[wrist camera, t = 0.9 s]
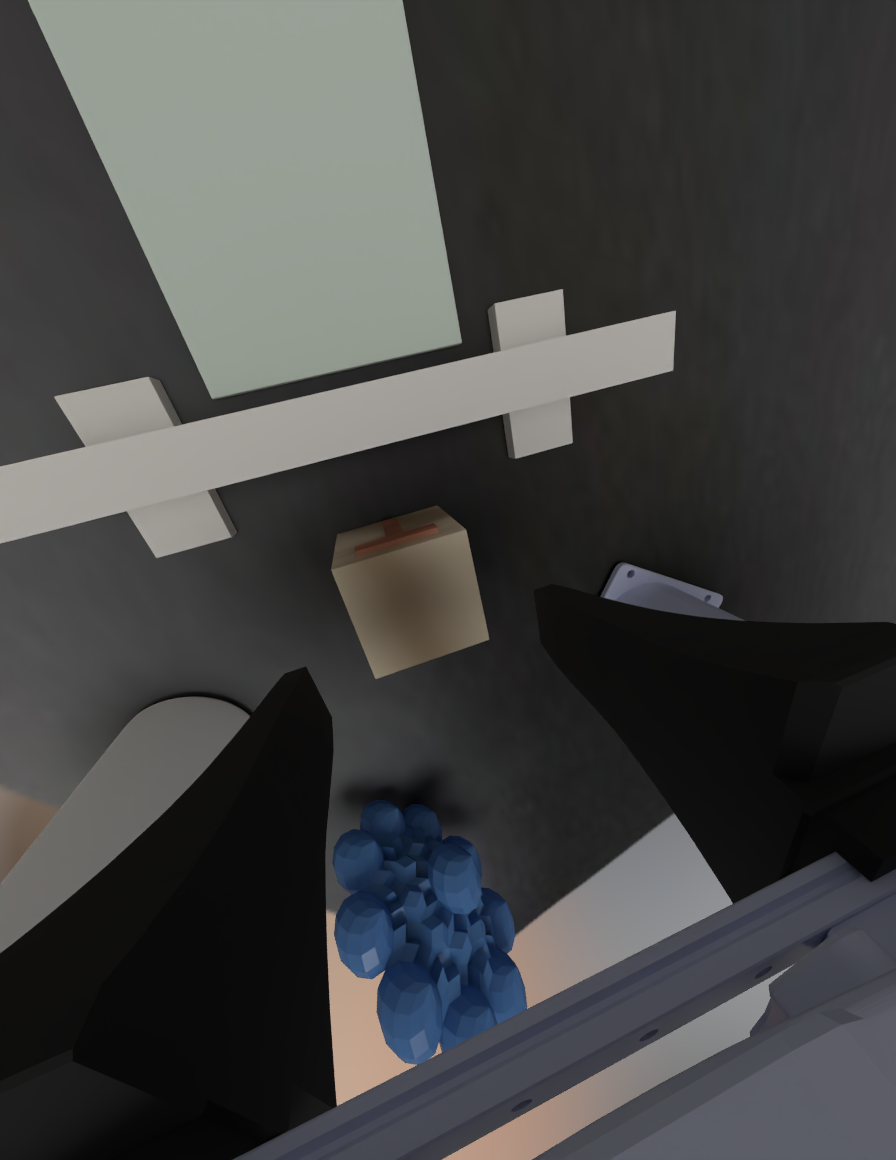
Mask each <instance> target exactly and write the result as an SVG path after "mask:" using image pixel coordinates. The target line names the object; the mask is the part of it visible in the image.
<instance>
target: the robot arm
mask: <svg viewBox="0 0 896 1160" xmlns="http://www.w3.org/2000/svg"><path fill="white" fill-rule="evenodd" d="M629 571H630V573H629V574H628V572H629ZM627 574H628V575H627ZM534 595H535V602H536V610H537V617H538V625H539V633H540V640H541V643H542V645H543V646H544V648H545V650H546V651H547V653H548V654H549V656H550V657H551V658H552V660H553V661H554V663H555V664H556V665H557V667H558V668H559V669H560V670H561V671H562V673H563V674H564V675H565V676H566V677H567V678H568V679H569V680H570V681H571V683H572V684H573V685H574V686H575V687H576V688H577V689H578V690H579V691H580V692H581V693H582V695H583V696H584V697H585V698H586V699H587V700H588V701H589V702H590V703H591V704H592V706H593V707H594V708H595V709H596V710H597V711H598V712H599V713H600V714H601V715H602V716H603V718H604V719H605V720H606V721H607V722H608V723H609V724H610V726H611V727H612V728H613V729H614V730H615V732H616V733H617V734H618V735H619V737H620V738H621V739H622V741H623V742H624V743H625V745H626V746H627V747H628V749H629V750H630V751H631V753H632V754H633V755H634V757H635V758H636V759H637V761H638V762H639V763H640V765H641V766H642V768H643V769H644V770H645V772H646V773H647V775H648V776H649V777H650V779H651V780H652V782H653V783H654V784H655V786H656V787H657V789H658V790H659V791H660V793H661V794H662V796H663V797H664V798H665V800H666V801H667V803H668V804H669V806H670V807H671V809H672V810H673V812H674V813H675V815H676V816H677V818H678V819H679V821H680V822H681V824H682V825H683V826H684V828H685V829H686V831H687V832H688V834H689V835H690V837H691V838H692V840H693V841H694V842H695V844H696V846H697V847H698V849H699V851H700V852H701V853H702V855H703V857H704V858H705V860H706V861H707V863H708V865H709V866H710V868H711V869H712V871H713V872H714V874H715V875H716V877H717V879H718V880H719V882H720V883H721V885H722V886H723V888H724V889H725V891H726V893H727V894H728V896H729V897H730V899H731V901H732V902H733V904H732V905H730V906H728V907H726V908H724V909H722V910H720V911H718V912H716V913H714V914H712V915H710V916H709V917H707V918H705V919H703V920H701V921H699V922H697V923H695V924H693V925H691V926H689V927H687V928H685V929H683V930H681V931H679V932H677V933H675V934H673V935H671V936H670V937H667V938H665V939H663V940H662V941H660V942H658V943H656V944H654V945H652V946H650V947H648V948H646V949H644V950H642V951H640V952H638V953H636V954H634V955H632V956H630V957H628V958H626V959H624V960H623V961H620V962H619V963H617V964H615V965H613V966H611V967H609V968H607V969H605V970H603V971H601V972H599V973H597V974H595V975H593V976H591V977H589V978H587V979H585V980H583V981H582V982H579V983H578V984H576V985H573V986H572V987H570V988H568V989H566V990H564V991H562V992H560V993H558V994H556V995H554V996H552V997H550V998H548V999H546V1000H544V1001H542V1002H540V1003H538V1004H536V1005H534V1006H533V1007H530V1008H528V1009H527V1010H525V1011H523V1012H521V1013H519V1014H517V1015H515V1016H513V1017H511V1018H509V1019H507V1020H505V1021H503V1022H501V1023H499V1024H497V1025H495V1026H493V1027H491V1028H489V1029H487V1030H485V1031H483V1032H482V1033H480V1034H478V1035H476V1036H474V1037H472V1038H470V1039H468V1040H466V1041H464V1042H462V1043H460V1044H458V1045H456V1046H454V1047H452V1048H450V1049H448V1050H446V1051H444V1052H442V1053H441V1054H438V1055H437V1056H435V1057H433V1058H431V1059H429V1060H427V1061H425V1062H423V1063H421V1064H419V1065H417V1066H415V1067H413V1068H411V1069H409V1070H407V1071H405V1072H403V1073H401V1074H400V1075H398V1076H395V1077H393V1078H391V1079H390V1080H388V1081H386V1082H384V1083H382V1084H380V1085H378V1086H376V1087H374V1088H372V1089H370V1090H368V1091H366V1092H364V1093H362V1094H360V1095H358V1096H356V1097H354V1098H353V1099H350V1100H348V1101H346V1102H345V1103H343V1104H341V1105H339V1106H337V1104H336V1092H335V1079H334V1065H333V1051H332V1050H333V1049H332V1035H331V1021H330V1003H329V982H328V960H327V933H326V884H325V849H326V830H327V819H328V808H329V797H330V786H331V775H332V763H333V728H332V717H331V715H330V713H329V711H328V709H327V707H326V705H325V703H324V701H323V699H322V697H321V695H320V693H319V691H318V689H317V687H316V685H315V683H314V681H313V679H312V677H311V675H310V674H309V672H308V670H307V668H306V667H303V668H300V669H297V670H294V671H291V672H288V673H285V674H284V675H283V676H282V677H281V678H280V680H279V681H278V682H277V683H276V684H275V686H274V687H273V688H272V689H271V691H270V692H269V693H268V694H267V696H266V697H265V698H264V700H263V701H262V702H261V703H260V705H259V706H258V707H257V709H256V710H255V711H254V712H253V714H252V715H251V716H250V717H249V719H248V720H247V721H246V722H245V724H244V725H243V726H242V727H241V729H240V730H239V731H238V732H237V734H236V735H235V736H234V737H233V738H232V739H231V741H230V742H229V743H228V744H227V745H226V746H225V748H224V749H223V750H222V751H221V752H220V753H219V755H218V756H217V757H216V758H215V759H214V760H213V762H212V763H211V764H210V765H209V766H208V767H207V768H206V770H205V771H204V772H203V773H202V774H201V775H200V776H199V777H198V778H197V779H196V780H195V781H194V783H193V784H192V785H191V786H190V787H189V788H188V789H187V790H186V791H185V792H184V793H183V794H182V795H181V796H180V797H179V798H178V799H177V800H176V801H175V802H174V803H173V804H172V805H171V806H170V807H169V808H168V809H167V810H166V811H165V812H164V813H163V814H162V815H161V816H160V817H159V818H158V819H157V820H156V821H155V822H154V823H152V824H151V825H150V826H149V827H148V828H147V829H146V830H145V831H144V832H143V833H142V834H141V835H139V836H138V837H137V838H136V839H135V840H134V841H133V842H132V843H131V844H130V845H129V846H128V847H126V848H125V849H124V850H123V851H122V852H121V853H120V854H119V855H118V856H117V857H116V858H115V859H113V860H112V861H111V862H110V863H109V864H108V865H107V866H106V867H104V868H103V869H102V870H101V871H100V872H99V873H98V874H96V875H95V876H94V877H93V878H92V879H91V880H89V881H88V882H87V883H86V884H85V885H84V886H82V887H81V888H80V889H79V890H78V891H77V892H75V893H74V894H73V895H72V896H71V897H69V898H68V899H67V900H66V901H64V902H63V903H62V904H61V905H60V906H58V907H57V908H56V909H55V910H54V911H52V912H51V913H50V914H49V915H48V916H46V917H45V918H44V919H43V920H42V921H40V922H39V923H38V924H37V925H35V926H34V927H33V928H32V929H30V930H29V931H28V932H27V933H25V934H24V935H23V936H22V937H20V938H19V939H18V940H17V941H15V942H14V943H13V944H12V945H10V946H9V947H8V948H6V949H5V950H4V951H2V952H1V953H0V1160H441V1159H443V1158H445V1157H447V1156H448V1155H451V1154H452V1153H454V1152H456V1151H458V1150H459V1149H461V1148H463V1147H465V1146H467V1145H468V1144H470V1143H472V1142H474V1141H476V1140H477V1139H479V1138H481V1137H483V1136H485V1135H487V1134H488V1133H490V1132H492V1131H494V1130H496V1129H497V1128H499V1127H501V1126H503V1125H505V1124H506V1123H508V1122H510V1121H512V1120H514V1119H515V1118H517V1117H519V1116H521V1115H523V1114H525V1113H526V1112H528V1111H530V1110H532V1109H533V1108H535V1107H537V1106H539V1105H541V1104H542V1103H544V1102H546V1101H548V1100H550V1099H551V1098H553V1097H555V1096H557V1095H559V1094H561V1093H562V1092H564V1091H566V1090H568V1089H570V1088H571V1087H573V1086H575V1085H577V1084H579V1083H580V1082H582V1081H584V1080H586V1079H588V1078H589V1077H591V1076H593V1075H595V1074H597V1073H598V1072H600V1071H602V1070H604V1069H606V1068H607V1067H609V1066H611V1065H613V1064H614V1063H616V1062H618V1061H620V1060H622V1059H624V1058H626V1057H627V1056H629V1055H631V1054H633V1053H634V1052H636V1051H638V1050H640V1049H642V1048H644V1047H645V1046H647V1045H649V1044H651V1043H653V1042H654V1041H656V1040H658V1039H660V1038H662V1037H663V1036H665V1035H667V1034H669V1033H671V1032H672V1031H674V1030H676V1029H678V1028H680V1027H681V1026H683V1025H685V1024H687V1023H688V1022H690V1021H692V1020H694V1019H696V1018H697V1017H699V1016H701V1015H703V1014H705V1013H706V1012H708V1011H710V1010H712V1009H714V1008H716V1007H717V1006H719V1005H721V1004H723V1003H725V1002H726V1001H728V1000H730V999H732V998H734V997H735V996H737V995H739V994H741V993H743V992H745V991H746V990H748V989H750V988H752V987H753V986H755V985H757V984H759V983H761V982H763V981H764V980H766V979H768V978H770V977H771V976H773V975H775V974H777V973H779V972H781V971H782V970H784V969H786V968H788V967H790V966H791V965H793V964H794V965H793V966H792V967H791V968H789V969H788V970H787V971H786V972H784V973H783V974H782V975H780V976H779V977H778V978H777V979H775V980H774V981H773V982H772V983H771V984H769V991H770V997H771V998H770V1001H769V1003H768V1005H767V1008H766V1010H765V1013H764V1014H763V1015H762V1016H761V1018H760V1019H759V1020H758V1022H757V1023H756V1024H755V1026H754V1027H753V1028H752V1030H751V1031H750V1037H749V1038H747V1039H745V1040H743V1041H741V1042H739V1043H736V1044H735V1045H733V1046H730V1047H728V1048H726V1049H724V1050H722V1051H720V1052H718V1053H717V1054H715V1055H713V1056H711V1057H709V1058H707V1059H705V1060H703V1061H702V1062H700V1063H698V1064H696V1065H694V1066H692V1067H690V1068H689V1069H687V1070H685V1071H683V1072H681V1073H679V1074H677V1075H675V1076H674V1077H672V1078H670V1079H668V1080H666V1081H665V1082H662V1083H661V1084H659V1085H657V1086H655V1087H654V1088H652V1089H650V1090H648V1091H647V1092H645V1093H643V1094H641V1095H640V1096H638V1097H636V1098H634V1099H633V1100H631V1101H629V1102H627V1103H626V1104H624V1105H622V1106H621V1107H619V1108H617V1109H615V1110H614V1111H612V1112H610V1113H608V1114H607V1115H605V1116H603V1117H601V1118H600V1119H598V1120H596V1121H595V1122H593V1123H591V1124H590V1125H588V1126H586V1127H585V1128H583V1129H581V1130H580V1131H578V1132H576V1133H575V1134H573V1135H572V1136H570V1137H568V1138H567V1139H565V1140H563V1141H562V1142H561V1143H559V1144H557V1145H555V1146H554V1147H552V1148H550V1149H549V1150H547V1151H545V1152H544V1153H542V1154H541V1155H539V1156H537V1157H536V1158H534V1159H532V1160H896V624H894V623H889V622H866V623H776V622H755V621H745V620H743V619H740V618H738V617H736V616H734V615H732V614H730V613H728V612H726V611H723V610H721V609H719V606H720V605H721V603H722V601H723V597H722V595H720V594H718V593H715V592H712V591H709V590H706V589H703V588H700V587H697V586H694V585H691V584H688V583H685V582H682V581H679V580H676V579H673V578H670V577H667V576H664V575H661V574H658V573H655V572H652V571H649V570H646V569H643V568H640V567H637V566H634V565H631V564H628V563H624V562H622V563H619V564H618V565H617V566H616V567H615V568H614V570H613V572H612V574H611V576H610V578H609V580H608V582H607V584H606V586H605V588H604V590H603V592H602V594H601V596H600V597H599V596H596V595H592V594H588V593H585V592H581V591H578V590H574V589H570V588H566V587H562V586H558V585H553V584H551V585H548V586H545V587H542V588H539V589H536V590H534ZM795 963H796V964H795Z"/></svg>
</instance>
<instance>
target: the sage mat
mask: <svg viewBox="0 0 896 1160" xmlns="http://www.w3.org/2000/svg"><path fill="white" fill-rule="evenodd" d="M28 2H29V4H30V6H31V8H32V10H33V13H34V15H35V17H36V19H37V21H38V23H39V26H40V28H41V30H42V32H43V34H44V36H45V39H46V41H47V43H48V45H49V47H50V49H51V51H52V54H53V56H54V58H55V60H56V62H57V64H58V67H59V69H60V71H61V73H62V75H63V77H64V80H65V82H66V84H67V86H68V88H69V90H70V93H71V95H72V97H73V99H74V101H75V103H76V106H77V108H78V110H79V112H80V114H81V116H82V119H83V121H84V123H85V125H86V127H87V129H88V132H89V134H90V136H91V138H92V140H93V142H94V145H95V147H96V149H97V151H98V153H99V155H100V158H101V160H102V162H103V164H104V166H105V168H106V170H107V173H108V175H109V177H110V179H111V181H112V183H113V186H114V188H115V190H116V192H117V194H118V196H119V199H120V201H121V203H122V205H123V207H124V209H125V212H126V214H127V216H128V218H129V220H130V222H131V225H132V227H133V229H134V231H135V233H136V235H137V238H138V240H139V242H140V244H141V246H142V248H143V251H144V253H145V255H146V257H147V259H148V261H149V264H150V266H151V268H152V270H153V272H154V274H155V277H156V279H157V281H158V283H159V285H160V287H161V289H162V292H163V294H164V296H165V298H166V300H167V302H168V305H169V307H170V309H171V311H172V313H173V315H174V318H175V320H176V322H177V324H178V326H179V328H180V331H181V333H182V335H183V337H184V339H185V341H186V344H187V346H188V348H189V350H190V352H191V354H192V357H193V359H194V361H195V363H196V365H197V367H198V370H199V372H200V374H201V376H202V378H203V380H204V383H205V385H206V387H207V389H208V391H209V393H210V396H211V398H212V399H215V400H217V399H222V398H226V397H230V396H235V395H239V394H244V393H248V392H253V391H257V390H262V389H266V388H270V387H275V386H279V385H284V384H288V383H293V382H297V381H302V380H306V379H310V378H315V377H319V376H324V375H328V374H333V373H337V372H342V371H346V370H350V369H355V368H359V367H364V366H368V365H373V364H377V363H382V362H386V361H390V360H395V359H399V358H404V357H408V356H413V355H417V354H422V353H426V352H430V351H435V350H439V349H444V348H448V347H453V346H457V345H460V344H461V343H462V341H461V335H460V329H459V323H458V318H457V312H456V306H455V300H454V295H453V289H452V283H451V277H450V272H449V266H448V260H447V254H446V249H445V243H444V237H443V231H442V226H441V220H440V214H439V208H438V203H437V197H436V191H435V186H434V180H433V174H432V168H431V163H430V157H429V151H428V145H427V140H426V134H425V128H424V122H423V117H422V111H421V105H420V99H419V94H418V88H417V82H416V76H415V71H414V65H413V59H412V53H411V48H410V42H409V36H408V30H407V25H406V19H405V13H404V8H403V2H402V0H28Z"/></svg>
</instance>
